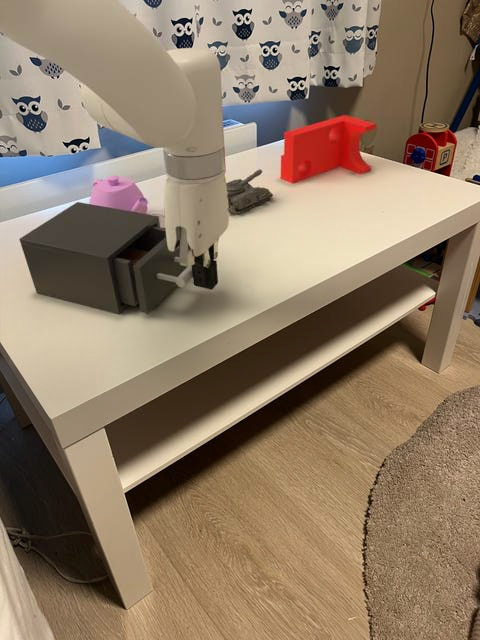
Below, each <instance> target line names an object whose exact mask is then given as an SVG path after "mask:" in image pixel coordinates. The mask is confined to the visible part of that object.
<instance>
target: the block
mask: <svg viewBox="0 0 480 640" xmlns="http://www.w3.org/2000/svg"><path fill="white" fill-rule="evenodd" d="M147 253H148V252H147V251H142V250H137V249H132V248H126V249H125V250H124V251H122V252H121V253H120V254H119V255H117V256H116V258H121V259H125V260H130V261H131V266H132V271H133V276H134V270H133V265H135V264H136V263H137V262H138V261H139V260H140V259H141V258H143V257H144V256H145V255H146V254H147ZM134 282H135V286H136V281H135V276H134Z"/></svg>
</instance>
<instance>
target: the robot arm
mask: <svg viewBox="0 0 480 640" xmlns="http://www.w3.org/2000/svg"><path fill="white" fill-rule="evenodd" d="M0 33H1V34H2V35H3V36H5V37H6V38H7V39H9V40H10V41H12V42H14V43H15V44H17V45H19V46H21V47H23V48H25V49H27V50H29V51H31V52H33V53H35V54H37V55H38V56H41V57H43V58H44V59H46V60H47V61H49V62H50V63H53V64H54V65H56V66H58V67H59V68H61V69H62V70H63V71H65V72H67V73H68V74H69V75H71V76H72V77H73V78H75V80H77V81H79V82H80V89H79V91H80V93H79V94H80V99H81V104H82V105H83V108H84V110H85V112H87V114H88V115H89V117H91V119H93V121H95V122H96V123H97V124H99V125H101V126H102V127H104V128H106V129H108V130H111V131H113V132H116V133H118V134H120V135H123V136H125V137H128V138H130V139H132V140H135V141H138V142H140V143H142V144H143V145H146V146H149V147H151V148H157V149H162V151H163V152H162V153H163V160H164V167H165V175H166V179H165V181H164V194H163V197H164V198H163V202H164V204H163V206H164V209H163V210H164V225H165V227H164V228H166V238H167V246H168V249H169V251H171V252H173V251H175V250H177V249H178V248H179V247H180V265H182V266H187V267H190V266H192V274H193V278H192V283H193V285H194V286H195V287H197V288H201V289H207V290H213V289H215V287H216V286H217V285H218V284H219V276H218V264H217V263H218V261H217V259H218V256H219V255H218V254H219V239H220V238H221V237H222V236H223V234H225V232H226V230H227V229H228V227H229V224H230V210H229V206H228V194H227V186H226V183H227V180H226V179H227V178H226V172H227V168H226V167H227V166H226V149H225V148H226V147H225V131H224V129H225V128H224V111H223V110H224V109H223V91H222V73H221V72H222V71H221V63H220V59H219V58H218V56H217V55H216V54H215V52H214V51H211V50H209V49H206V48H202V47H201V48H199V47H184V48H175V49H169V50H166V49H165V47H164V46H163V45H162V43H160V41H159V40H158V39H157V38H156V36H154V34H153V33H152V32H151V30H149V29H148V28H147V27H146V26H145V24H143V23H142V21H141V20H139V18H137V17H136V16H135V15H134V14H133V13H132V12H131V10H129V9H127V8H126V7H125V6H124V5H123V4H122V3H121V2H119V0H0Z"/></svg>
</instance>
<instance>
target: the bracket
mask: <svg viewBox="0 0 480 640" xmlns="http://www.w3.org/2000/svg"><path fill="white" fill-rule="evenodd" d="M376 127H377V123H374V122H371V121H367V120H364V119H361V118H356V117H353V116H349V115H347V114H343V115H340V116H337V117H336V116H335V117H334V118H330V119H326V120H323V121H319V122H316V123H312V124H309V125H306V126H301V127H299V128H294V129H292V130H288V131H285V132H284V137H283V139H284V140H283V154H282V155H280V179H281V180H284V181H285V182H288V183H290V184H295V183H297V182H301V181H304V180H307V179H309V178H312V177H315V176H318V175H320V174H324V173H326V172H328V171H331V170H334V169H338V168H342V169H345V170H348V171H351V172H354V173H356V174H359V175H363V174H365V173H368V172H370V171H371V169H372V165H370V164H368V163H367V162H366V161H365V159H364V158H363V157H362V154H361V150H360V141H361V139H362V138H361V137H362V136H363V134H364V133H367V132H371V131H373V130H376Z"/></svg>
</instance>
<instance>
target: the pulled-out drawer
mask: <svg viewBox="0 0 480 640" xmlns="http://www.w3.org/2000/svg"><path fill="white" fill-rule="evenodd" d="M127 248H132V249H137V250H142V251H147V252H148V253H147V254H146V255H145V256H144V257H143V258H141V259H140V260H139V261H138V262H137V263H136V264H135V265H133V270H134V276H135V281H136V286H135V282H134V276H133V271H132V266H131V261H130V260H125V259H121V258H116V257H115V258H113V259H112V264H113V269H114V274H115V279H116V284H117V288H118V293H119V298H120V302H121V303H125V304H129V305H128V306H133V307H137V306H138V304H139V308H140V309H139V310H140V312H141V313H142V314H146V315H149V314H150V313H151V312H152V311H153V310H154V309H155V308H156V307H157V306H158V304H159V303H161V301H163V299H165V297H166V296H167V295H168V294H169V293H170V292H171V291H172V290H173V289H175V287H176V286H177V287H179V288H185V287H186V286H187V285H188V284H189V282H190V281H191V280H193V274H192V266H190V267H187V266H182V265H180V247H179V248H178V249H177V250H175V251H173V252H171V251H169V249H168V246H167V238H166V227H161V226H160V227H156V226H152V227H151V228H150V229H149V230H147V231H146V232H145V233H144V234H142V235H141V236H140V237H139V238H138V239H136V240H135V241H134V242H133V243H132V244H130V245H129V246H128V247H127ZM125 249H126V248H125ZM125 249H124V250H125ZM124 250H123V251H124ZM119 254H120V253H119ZM119 254H118V255H119Z"/></svg>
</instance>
